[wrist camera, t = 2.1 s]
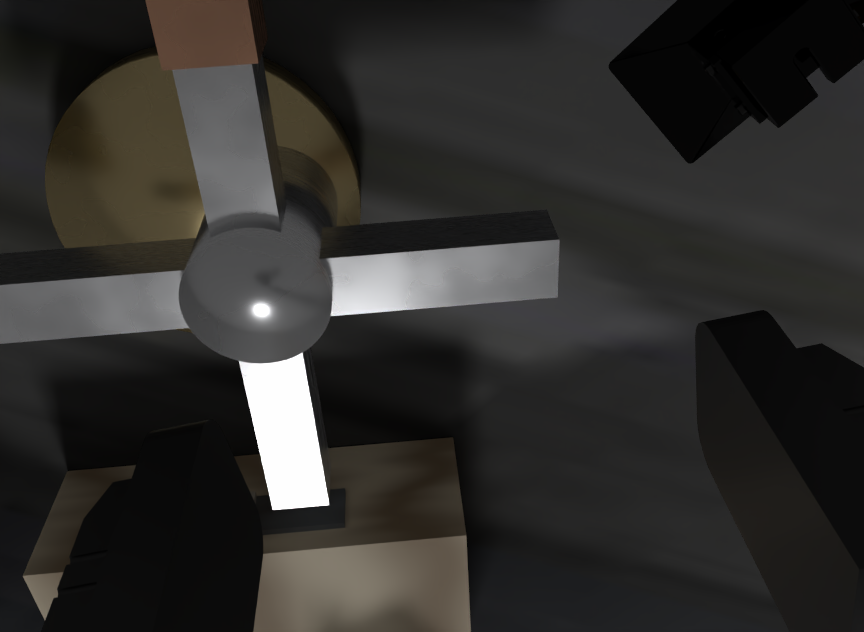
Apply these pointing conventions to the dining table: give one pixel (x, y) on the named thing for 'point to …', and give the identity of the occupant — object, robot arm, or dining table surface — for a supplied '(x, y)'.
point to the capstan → (241, 227)
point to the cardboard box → (326, 542)
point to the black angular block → (736, 63)
